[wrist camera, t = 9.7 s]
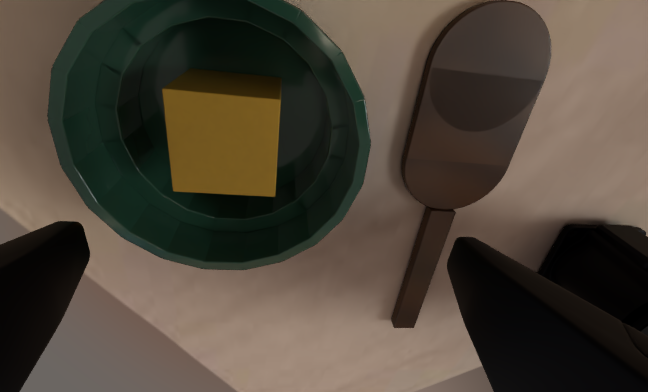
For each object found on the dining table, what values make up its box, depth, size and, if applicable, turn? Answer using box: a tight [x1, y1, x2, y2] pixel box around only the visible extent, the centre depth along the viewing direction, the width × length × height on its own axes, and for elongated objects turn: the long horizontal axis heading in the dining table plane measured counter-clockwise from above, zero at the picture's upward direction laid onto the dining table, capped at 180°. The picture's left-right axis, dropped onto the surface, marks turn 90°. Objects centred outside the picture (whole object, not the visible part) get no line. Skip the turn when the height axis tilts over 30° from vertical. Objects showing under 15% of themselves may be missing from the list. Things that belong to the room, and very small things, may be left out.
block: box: [162, 68, 282, 197], centre depth 16 cm, size 4×4×4 cm
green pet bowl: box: [47, 0, 371, 270], centre depth 16 cm, size 12×12×6 cm
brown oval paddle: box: [391, 0, 551, 328], centre depth 22 cm, size 23×7×1 cm, turn 173°
